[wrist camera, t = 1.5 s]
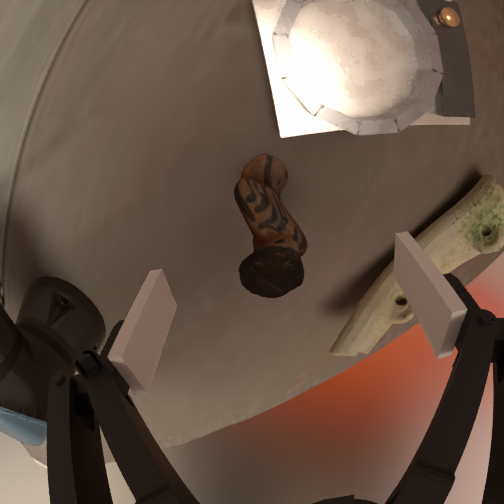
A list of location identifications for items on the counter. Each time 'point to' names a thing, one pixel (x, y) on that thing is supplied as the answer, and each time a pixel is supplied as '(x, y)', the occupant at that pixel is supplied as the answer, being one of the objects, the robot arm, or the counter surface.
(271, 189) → the figurine
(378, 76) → the white flat device
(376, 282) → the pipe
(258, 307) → the counter surface
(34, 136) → the counter surface
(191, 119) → the counter surface
